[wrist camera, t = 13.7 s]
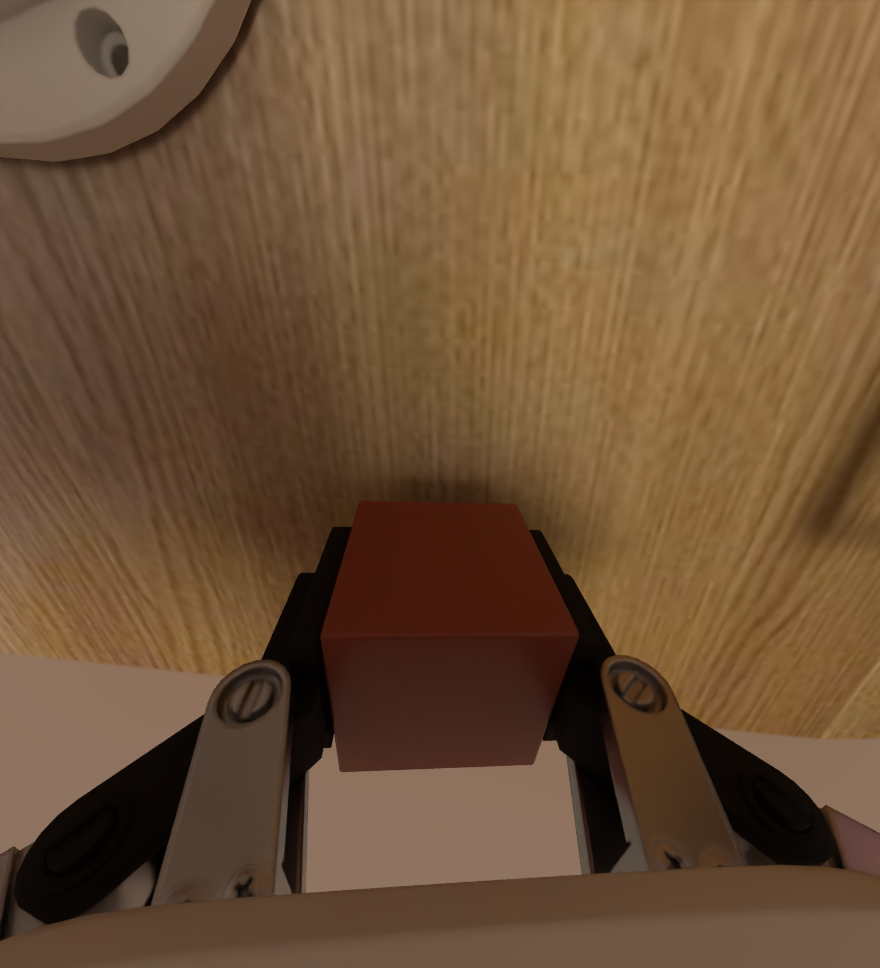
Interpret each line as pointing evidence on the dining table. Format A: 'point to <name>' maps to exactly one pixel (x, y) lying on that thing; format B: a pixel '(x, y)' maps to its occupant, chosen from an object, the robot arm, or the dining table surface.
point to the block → (443, 639)
